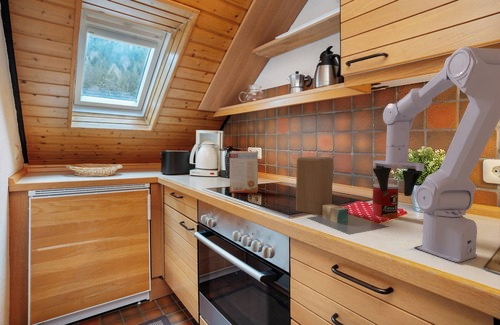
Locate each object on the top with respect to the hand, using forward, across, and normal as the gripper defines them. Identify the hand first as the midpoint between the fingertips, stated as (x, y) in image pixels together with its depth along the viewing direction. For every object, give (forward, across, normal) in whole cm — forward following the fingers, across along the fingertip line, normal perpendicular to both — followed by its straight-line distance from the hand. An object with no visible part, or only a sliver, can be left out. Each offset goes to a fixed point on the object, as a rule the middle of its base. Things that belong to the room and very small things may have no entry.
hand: (395, 193), depth 79 cm
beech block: (+8, +9, +11) cm, 16 cm away
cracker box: (+11, +74, +14) cm, 76 cm away
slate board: (+10, +9, +10) cm, 17 cm away
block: (+11, +25, +9) cm, 29 cm away
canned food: (+11, +10, -9) cm, 17 cm away
